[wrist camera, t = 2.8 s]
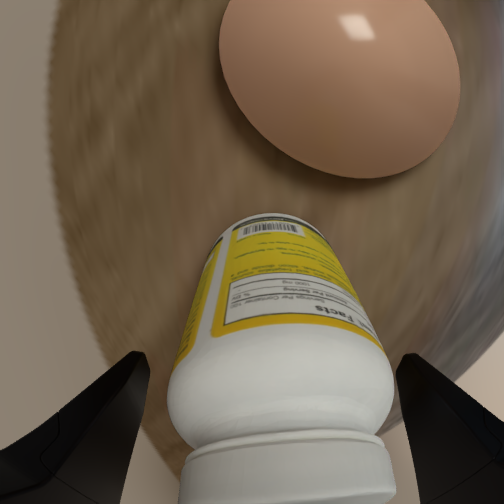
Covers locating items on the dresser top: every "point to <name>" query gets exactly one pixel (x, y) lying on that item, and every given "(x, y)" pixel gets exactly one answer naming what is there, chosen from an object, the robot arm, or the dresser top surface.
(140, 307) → the dresser top surface
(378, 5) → the tan round disc
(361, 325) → the pill bottle
